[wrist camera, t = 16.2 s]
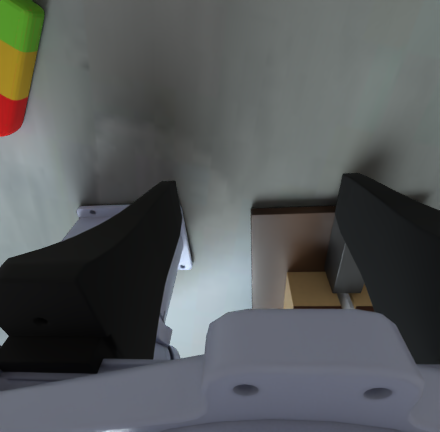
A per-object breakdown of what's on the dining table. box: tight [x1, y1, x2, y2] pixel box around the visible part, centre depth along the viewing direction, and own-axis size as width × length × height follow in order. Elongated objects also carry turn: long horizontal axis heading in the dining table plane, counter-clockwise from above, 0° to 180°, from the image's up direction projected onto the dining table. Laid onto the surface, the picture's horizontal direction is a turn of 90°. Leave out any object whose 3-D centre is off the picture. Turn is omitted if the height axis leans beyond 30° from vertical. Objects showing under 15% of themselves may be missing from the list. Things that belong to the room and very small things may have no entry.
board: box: [251, 206, 336, 309], centre depth 28 cm, size 14×18×1 cm
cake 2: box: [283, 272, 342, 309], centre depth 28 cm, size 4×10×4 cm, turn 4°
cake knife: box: [324, 216, 364, 309], centre depth 25 cm, size 19×2×4 cm, turn 4°
